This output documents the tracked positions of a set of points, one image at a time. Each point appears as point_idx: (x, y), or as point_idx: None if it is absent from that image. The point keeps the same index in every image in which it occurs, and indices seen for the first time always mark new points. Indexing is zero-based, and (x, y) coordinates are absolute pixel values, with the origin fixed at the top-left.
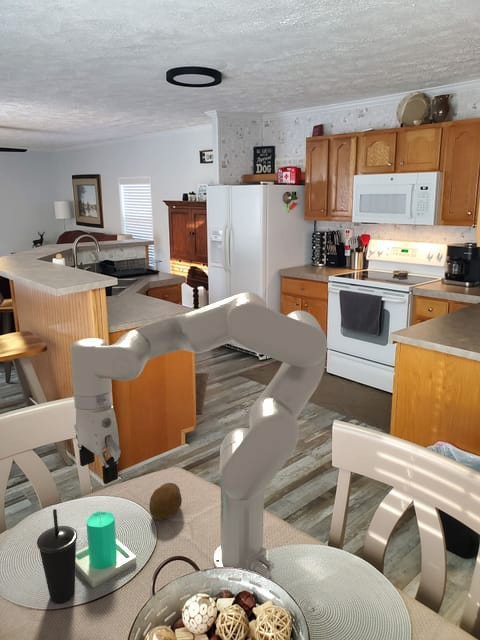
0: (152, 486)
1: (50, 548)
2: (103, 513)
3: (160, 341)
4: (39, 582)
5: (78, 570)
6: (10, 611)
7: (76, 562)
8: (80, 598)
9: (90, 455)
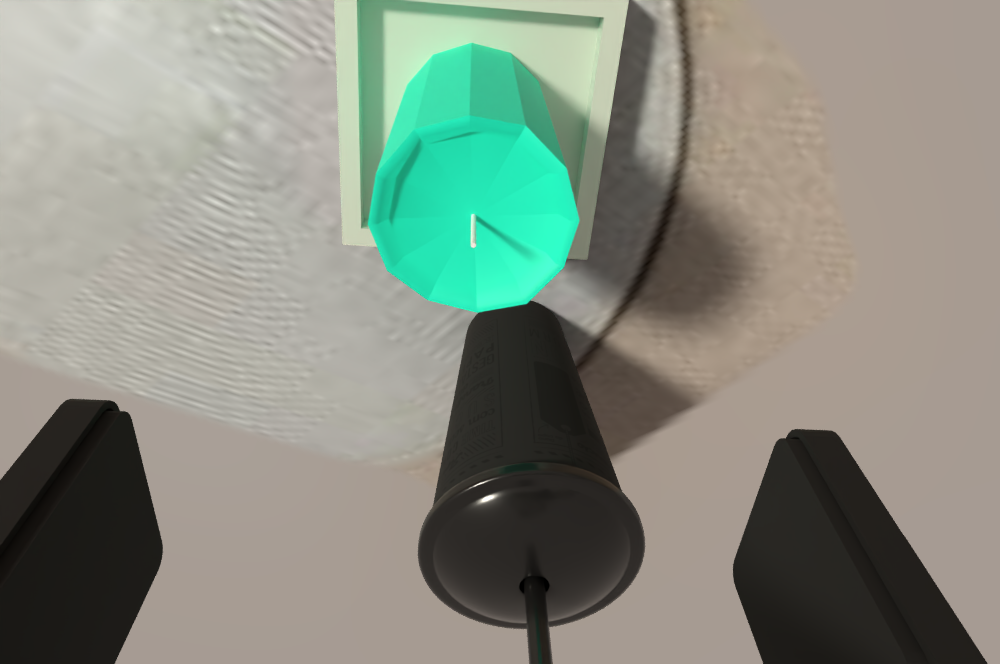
0: None
1: (588, 609)
2: (411, 154)
3: None
4: (378, 366)
5: None
6: None
7: None
8: (588, 304)
9: (75, 558)
